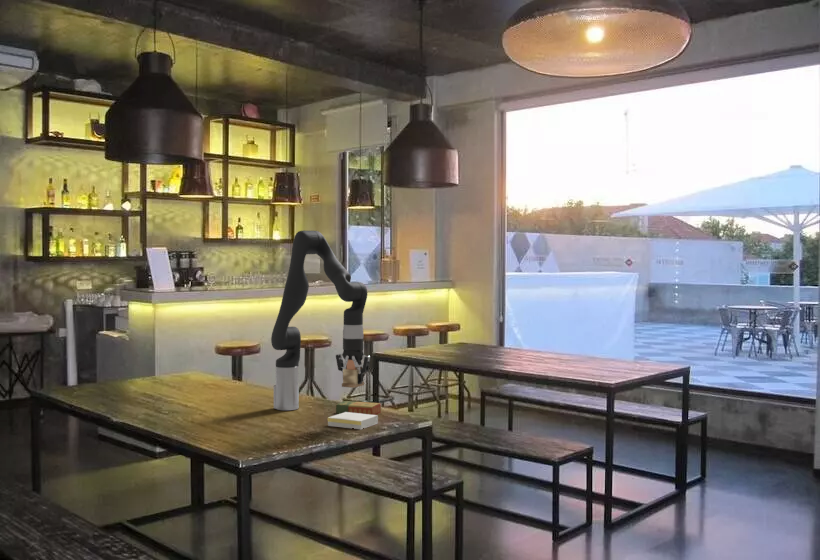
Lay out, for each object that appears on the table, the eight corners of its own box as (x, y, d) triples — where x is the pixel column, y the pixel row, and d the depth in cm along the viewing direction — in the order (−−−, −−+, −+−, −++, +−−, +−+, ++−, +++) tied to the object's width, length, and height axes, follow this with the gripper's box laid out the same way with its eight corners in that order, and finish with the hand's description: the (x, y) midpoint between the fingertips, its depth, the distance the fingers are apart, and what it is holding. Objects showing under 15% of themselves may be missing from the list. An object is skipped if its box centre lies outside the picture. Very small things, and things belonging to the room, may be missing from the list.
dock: (327, 425, 281) (327, 417, 281) (345, 419, 291) (345, 411, 291) (360, 429, 274) (360, 421, 274) (377, 423, 285) (377, 415, 285)
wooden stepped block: (341, 386, 281) (341, 369, 281) (351, 384, 287) (352, 367, 287) (354, 387, 278) (354, 370, 278) (364, 385, 284) (364, 368, 284)
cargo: (346, 369, 282) (346, 359, 282) (351, 368, 285) (351, 358, 285) (354, 369, 280) (354, 360, 280) (359, 368, 283) (359, 359, 283)
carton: (372, 417, 298) (372, 406, 298) (335, 414, 304) (335, 403, 304) (381, 413, 306) (381, 402, 306) (344, 410, 312) (344, 400, 312)
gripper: (331, 336, 282) (330, 383, 283) (364, 338, 276) (364, 386, 276) (342, 335, 289) (341, 380, 289) (375, 337, 282) (375, 383, 283)
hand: (353, 383), depth 283 cm, fingers closed on wooden stepped block, 5 cm apart
